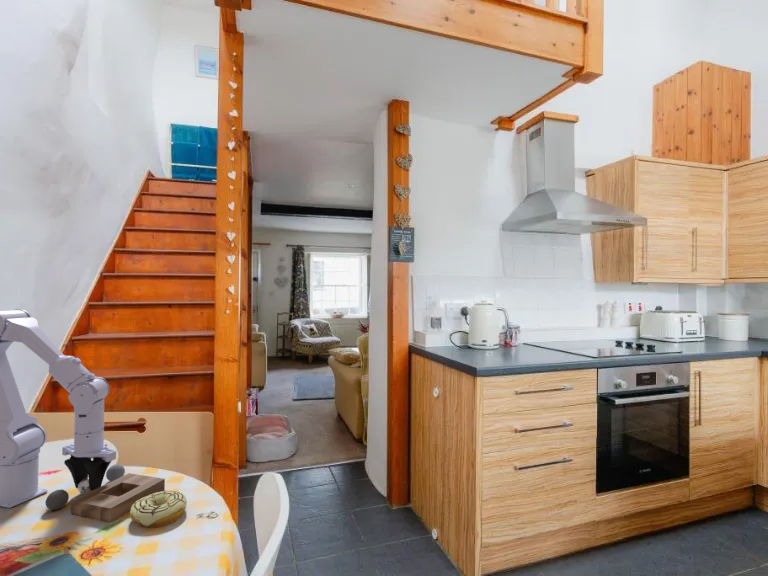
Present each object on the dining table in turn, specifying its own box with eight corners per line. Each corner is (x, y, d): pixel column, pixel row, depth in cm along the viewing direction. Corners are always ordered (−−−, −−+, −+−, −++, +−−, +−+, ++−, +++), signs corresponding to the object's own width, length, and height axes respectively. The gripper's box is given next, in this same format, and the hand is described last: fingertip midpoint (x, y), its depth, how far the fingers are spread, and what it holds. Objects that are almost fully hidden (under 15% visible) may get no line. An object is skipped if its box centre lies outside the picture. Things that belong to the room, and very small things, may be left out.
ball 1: (40, 512, 87) (40, 493, 87) (60, 503, 91) (60, 485, 91) (54, 514, 86) (54, 496, 86) (73, 505, 90) (73, 487, 90)
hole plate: (70, 515, 86) (71, 500, 86) (128, 485, 99) (129, 473, 99) (110, 523, 83) (110, 508, 83) (164, 491, 96) (164, 478, 96)
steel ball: (73, 496, 94) (73, 479, 94) (90, 488, 98) (90, 472, 98) (86, 499, 93) (86, 481, 93) (102, 491, 96) (103, 474, 96)
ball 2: (101, 483, 100) (102, 467, 100) (116, 476, 104) (116, 460, 104) (114, 485, 99) (114, 469, 99) (128, 478, 103) (128, 462, 103)
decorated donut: (144, 538, 78) (145, 518, 78) (120, 520, 84) (121, 502, 84) (195, 514, 87) (196, 496, 87) (170, 499, 93) (170, 483, 93)
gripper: (128, 427, 97) (127, 484, 97) (83, 422, 101) (82, 476, 101) (100, 437, 90) (99, 498, 90) (53, 431, 94) (52, 489, 94)
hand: (88, 487), depth 95 cm, fingers closed on steel ball, 4 cm apart
